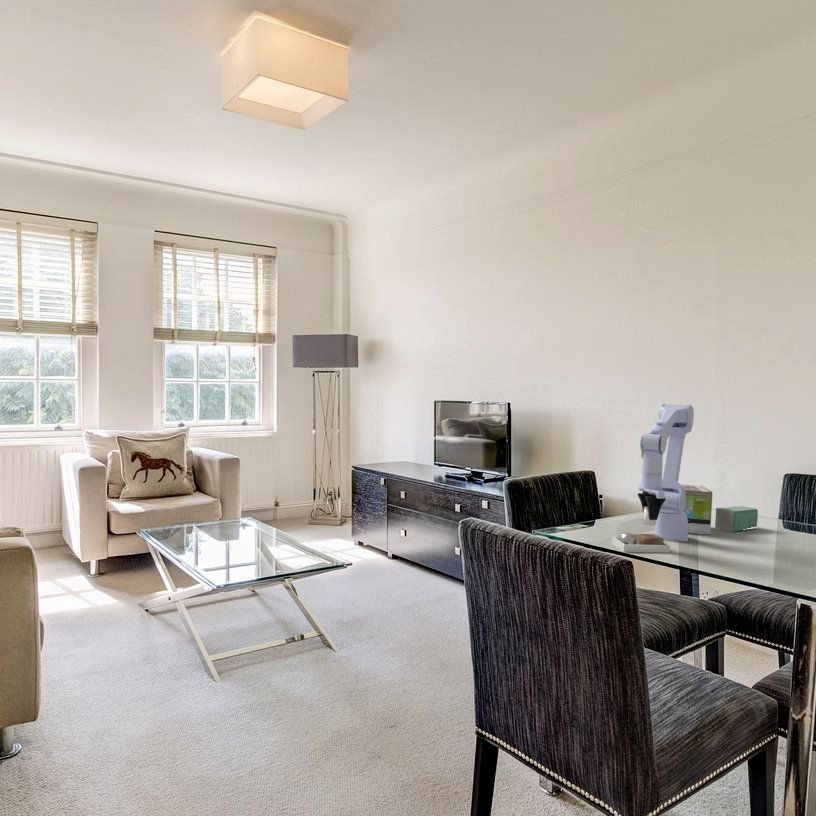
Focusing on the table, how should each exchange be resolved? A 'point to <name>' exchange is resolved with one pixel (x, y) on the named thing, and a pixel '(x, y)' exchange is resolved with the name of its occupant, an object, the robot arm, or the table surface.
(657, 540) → the block
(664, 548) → the white tray
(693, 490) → the tea box
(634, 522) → the table surface
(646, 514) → the jar
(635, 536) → the tin
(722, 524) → the box
